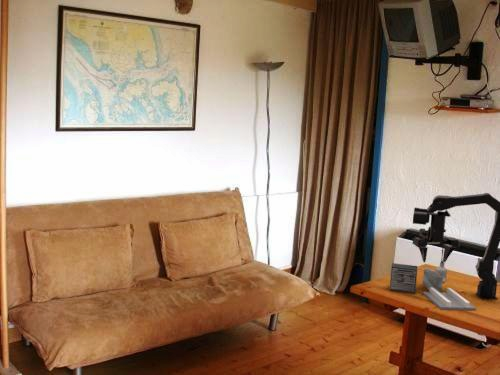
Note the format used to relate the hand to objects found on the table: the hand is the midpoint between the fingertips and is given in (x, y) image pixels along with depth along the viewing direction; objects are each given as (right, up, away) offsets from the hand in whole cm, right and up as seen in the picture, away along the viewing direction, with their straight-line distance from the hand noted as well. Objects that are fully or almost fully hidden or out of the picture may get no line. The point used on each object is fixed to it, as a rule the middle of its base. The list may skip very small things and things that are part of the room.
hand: (434, 262), depth 258 cm
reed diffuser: (+9, -10, +18) cm, 23 cm away
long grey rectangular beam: (0, -12, +3) cm, 12 cm away
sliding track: (+1, -14, -14) cm, 20 cm away
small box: (-14, -12, -1) cm, 18 cm away
